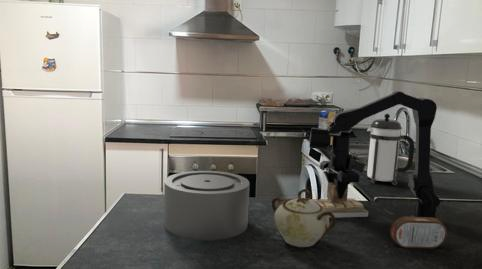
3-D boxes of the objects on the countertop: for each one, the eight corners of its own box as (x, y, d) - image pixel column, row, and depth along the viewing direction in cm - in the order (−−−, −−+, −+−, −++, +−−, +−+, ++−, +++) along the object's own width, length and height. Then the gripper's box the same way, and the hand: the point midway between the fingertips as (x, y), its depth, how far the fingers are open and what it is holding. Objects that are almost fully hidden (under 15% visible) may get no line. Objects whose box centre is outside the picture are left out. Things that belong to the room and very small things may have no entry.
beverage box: (316, 145, 267) (319, 111, 263) (326, 144, 274) (328, 110, 271) (326, 147, 262) (328, 112, 258) (335, 145, 270) (338, 111, 266)
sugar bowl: (344, 243, 117) (349, 190, 114) (319, 261, 105) (324, 203, 103) (284, 224, 128) (286, 177, 126) (255, 239, 117) (258, 186, 114)
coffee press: (387, 188, 174) (394, 116, 169) (356, 179, 187) (362, 112, 182) (411, 183, 184) (418, 115, 179) (380, 175, 197) (386, 111, 192)
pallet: (364, 211, 140) (364, 204, 139) (315, 212, 136) (316, 206, 136) (354, 204, 146) (354, 198, 146) (308, 205, 143) (308, 199, 143)
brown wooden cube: (347, 201, 139) (348, 185, 138) (332, 201, 138) (334, 186, 137) (340, 196, 144) (341, 181, 143) (326, 196, 143) (327, 181, 142)
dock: (367, 216, 139) (368, 211, 139) (313, 218, 135) (314, 212, 135) (355, 207, 148) (355, 202, 147) (304, 208, 144) (304, 203, 144)
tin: (441, 245, 118) (444, 216, 117) (447, 250, 115) (450, 220, 114) (388, 244, 118) (391, 215, 116) (392, 248, 114) (395, 219, 113)
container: (156, 213, 134) (157, 173, 132) (230, 207, 143) (232, 169, 141) (174, 245, 111) (175, 196, 109) (260, 235, 120) (263, 190, 118)
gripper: (377, 156, 131) (373, 204, 133) (350, 145, 149) (347, 187, 151) (344, 156, 129) (340, 205, 131) (320, 144, 147) (317, 188, 149)
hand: (336, 196), depth 141 cm, fingers closed on brown wooden cube, 5 cm apart
